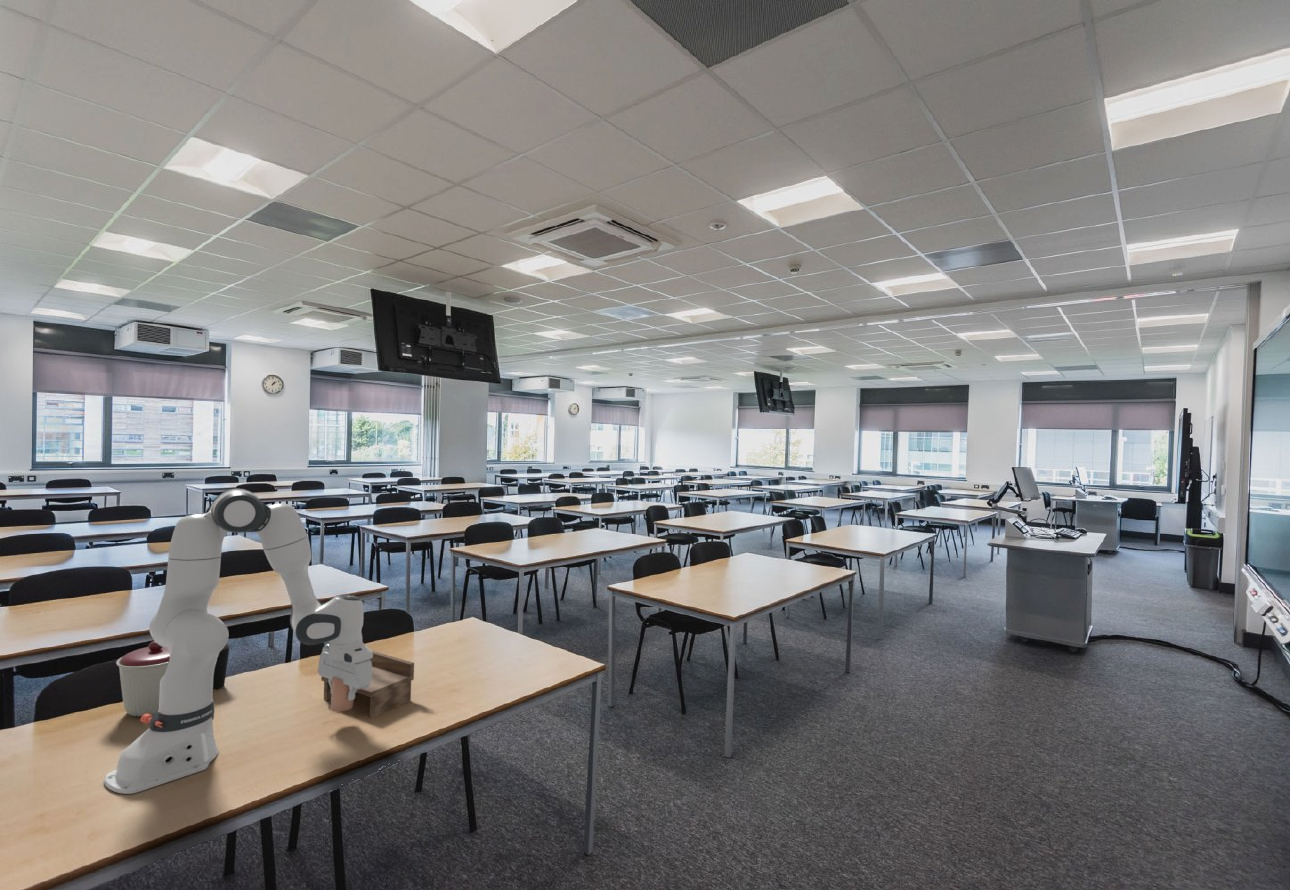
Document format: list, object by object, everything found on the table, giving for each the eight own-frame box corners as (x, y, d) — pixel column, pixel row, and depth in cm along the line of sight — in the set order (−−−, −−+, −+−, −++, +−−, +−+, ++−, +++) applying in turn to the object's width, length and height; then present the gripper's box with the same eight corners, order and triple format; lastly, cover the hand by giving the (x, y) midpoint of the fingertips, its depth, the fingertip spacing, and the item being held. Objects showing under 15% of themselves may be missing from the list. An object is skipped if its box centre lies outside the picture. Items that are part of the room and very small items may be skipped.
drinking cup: (214, 693, 194) (216, 632, 194) (195, 690, 195) (197, 630, 195) (235, 684, 201) (236, 625, 201) (216, 681, 203) (218, 623, 203)
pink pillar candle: (339, 713, 172) (340, 681, 172) (326, 708, 175) (327, 677, 175) (357, 705, 177) (359, 675, 177) (344, 701, 180) (346, 671, 180)
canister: (112, 708, 181) (114, 639, 181) (186, 692, 194) (188, 627, 194) (116, 729, 169) (119, 655, 169) (195, 710, 181) (198, 642, 181)
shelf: (370, 718, 180) (371, 679, 180) (320, 700, 191) (321, 663, 191) (413, 699, 194) (414, 662, 194) (364, 683, 205) (365, 648, 205)
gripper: (313, 645, 178) (310, 691, 178) (357, 659, 169) (354, 708, 168) (333, 640, 184) (330, 685, 184) (377, 653, 174) (374, 700, 174)
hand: (342, 696), depth 176 cm, fingers closed on pink pillar candle, 6 cm apart
